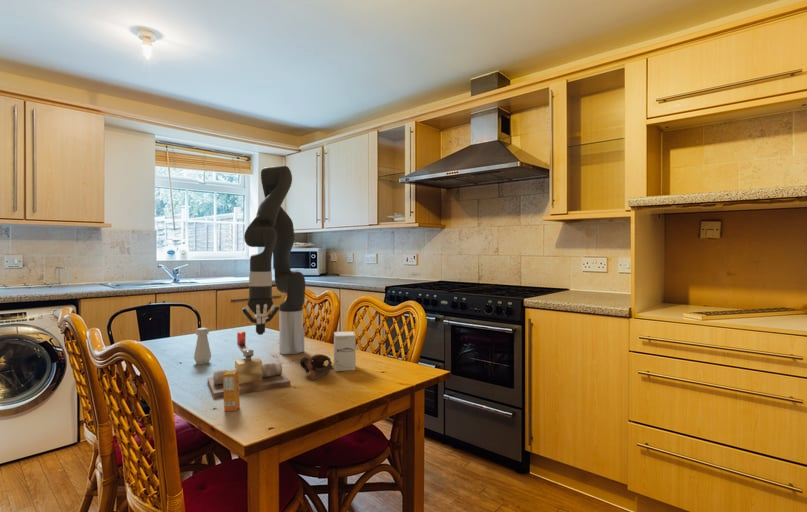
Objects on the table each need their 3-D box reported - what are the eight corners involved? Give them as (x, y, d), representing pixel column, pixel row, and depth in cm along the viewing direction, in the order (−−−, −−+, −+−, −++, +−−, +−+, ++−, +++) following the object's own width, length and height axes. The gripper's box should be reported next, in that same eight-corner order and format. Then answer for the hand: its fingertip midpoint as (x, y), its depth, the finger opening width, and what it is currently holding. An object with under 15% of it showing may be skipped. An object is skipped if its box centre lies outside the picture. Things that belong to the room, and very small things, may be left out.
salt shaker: (214, 361, 160) (214, 326, 159) (205, 365, 154) (205, 330, 154) (199, 360, 160) (199, 326, 160) (190, 365, 155) (190, 329, 154)
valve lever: (254, 356, 133) (254, 339, 133) (244, 357, 132) (244, 340, 132) (245, 346, 146) (245, 331, 146) (236, 347, 144) (236, 332, 144)
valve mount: (277, 372, 147) (277, 347, 146) (290, 385, 133) (290, 358, 133) (207, 382, 135) (207, 355, 135) (214, 398, 122) (213, 368, 121)
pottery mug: (336, 373, 148) (337, 356, 143) (324, 393, 140) (325, 375, 135) (304, 362, 150) (305, 345, 145) (291, 381, 142) (291, 364, 137)
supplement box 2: (334, 371, 147) (334, 335, 147) (333, 365, 155) (333, 331, 154) (355, 370, 149) (355, 335, 149) (353, 364, 156) (354, 330, 156)
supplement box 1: (226, 407, 115) (226, 370, 115) (239, 406, 115) (239, 370, 115) (222, 411, 112) (222, 374, 112) (236, 411, 112) (235, 374, 112)
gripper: (277, 283, 154) (276, 330, 154) (238, 284, 147) (238, 334, 147) (282, 284, 147) (282, 334, 147) (242, 286, 140) (242, 338, 141)
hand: (260, 334), depth 147 cm, fingers closed
